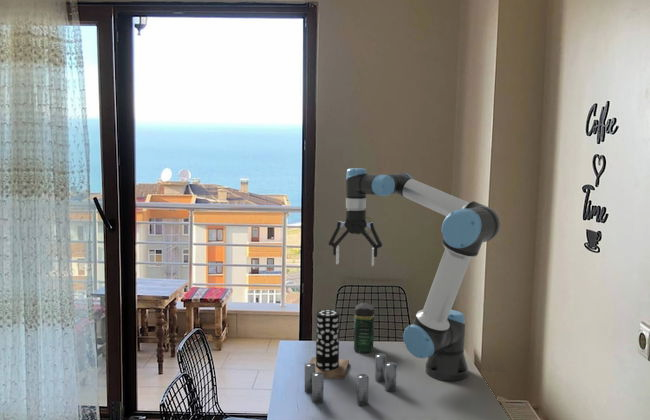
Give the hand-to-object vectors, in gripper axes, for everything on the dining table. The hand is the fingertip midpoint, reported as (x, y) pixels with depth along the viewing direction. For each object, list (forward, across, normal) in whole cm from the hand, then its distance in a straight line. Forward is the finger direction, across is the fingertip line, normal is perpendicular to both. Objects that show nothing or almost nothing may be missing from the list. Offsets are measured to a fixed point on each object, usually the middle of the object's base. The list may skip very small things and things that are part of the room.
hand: (355, 264), depth 206 cm
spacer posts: (+37, -3, +30) cm, 47 cm away
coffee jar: (+37, -3, -9) cm, 38 cm away
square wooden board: (+37, +8, +14) cm, 40 cm away
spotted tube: (+35, +8, +14) cm, 39 cm away
